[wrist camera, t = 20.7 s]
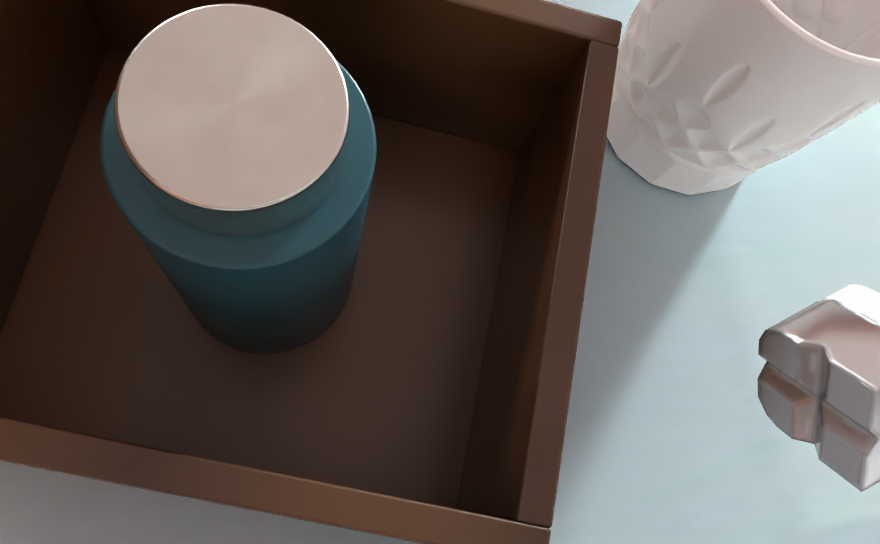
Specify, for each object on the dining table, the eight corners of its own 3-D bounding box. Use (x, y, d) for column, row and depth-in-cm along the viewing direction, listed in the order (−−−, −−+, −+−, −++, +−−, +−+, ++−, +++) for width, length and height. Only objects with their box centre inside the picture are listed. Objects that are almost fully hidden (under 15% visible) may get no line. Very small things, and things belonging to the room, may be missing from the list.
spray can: (368, 214, 25) (410, 15, 14) (331, 370, 23) (347, 276, 13) (208, 176, 24) (129, -60, 14) (159, 333, 23) (29, 202, 12)
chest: (538, 146, 27) (623, 20, 20) (471, 541, 23) (546, 568, 16) (98, 34, 26) (10, -149, 18) (-56, 437, 22) (-248, 412, 14)
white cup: (813, 167, 29) (1059, 13, 19) (643, 243, 27) (825, 111, 17) (712, -3, 30) (896, -226, 21) (543, 56, 28) (661, -161, 19)
